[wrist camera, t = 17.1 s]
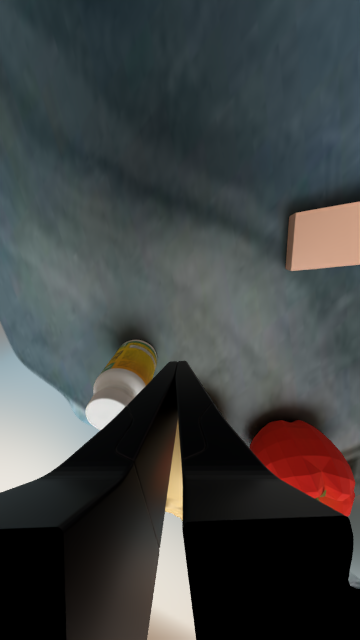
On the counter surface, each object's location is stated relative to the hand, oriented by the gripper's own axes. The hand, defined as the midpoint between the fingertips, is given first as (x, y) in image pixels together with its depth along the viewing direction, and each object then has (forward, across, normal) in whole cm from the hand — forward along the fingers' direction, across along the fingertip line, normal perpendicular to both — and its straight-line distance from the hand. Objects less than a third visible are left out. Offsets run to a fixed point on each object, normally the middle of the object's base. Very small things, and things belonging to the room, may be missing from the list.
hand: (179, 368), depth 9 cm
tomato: (+13, -13, +23) cm, 30 cm away
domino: (+12, -11, -5) cm, 17 cm away
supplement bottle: (+13, +7, +7) cm, 16 cm away
